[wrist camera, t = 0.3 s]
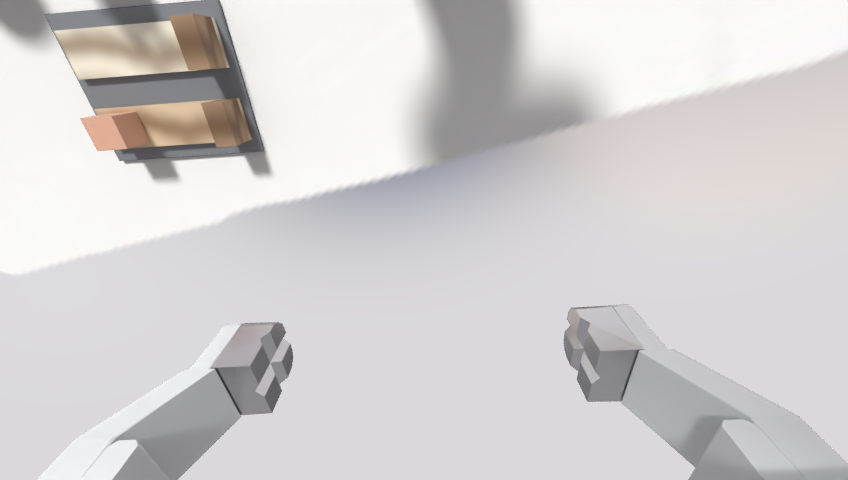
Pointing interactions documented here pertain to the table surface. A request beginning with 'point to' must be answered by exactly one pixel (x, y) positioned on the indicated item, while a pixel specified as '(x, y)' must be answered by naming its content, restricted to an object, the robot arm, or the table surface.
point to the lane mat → (164, 76)
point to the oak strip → (190, 122)
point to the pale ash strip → (145, 47)
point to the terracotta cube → (115, 131)
